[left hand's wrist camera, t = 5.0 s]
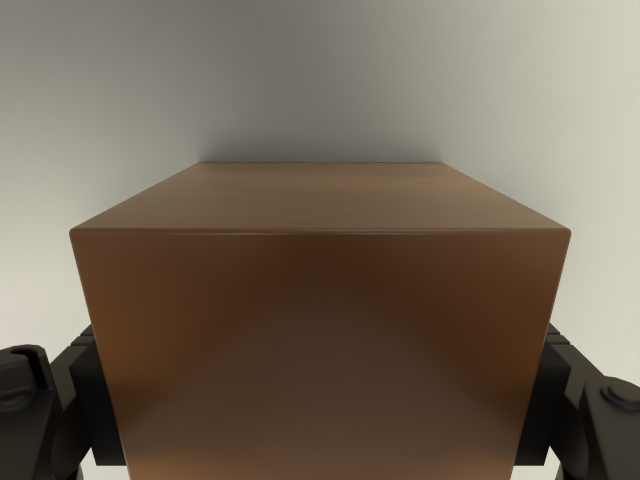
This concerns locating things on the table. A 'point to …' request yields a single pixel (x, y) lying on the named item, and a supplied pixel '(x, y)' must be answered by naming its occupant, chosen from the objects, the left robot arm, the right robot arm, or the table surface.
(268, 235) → the brown wooden bar
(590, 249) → the table surface
